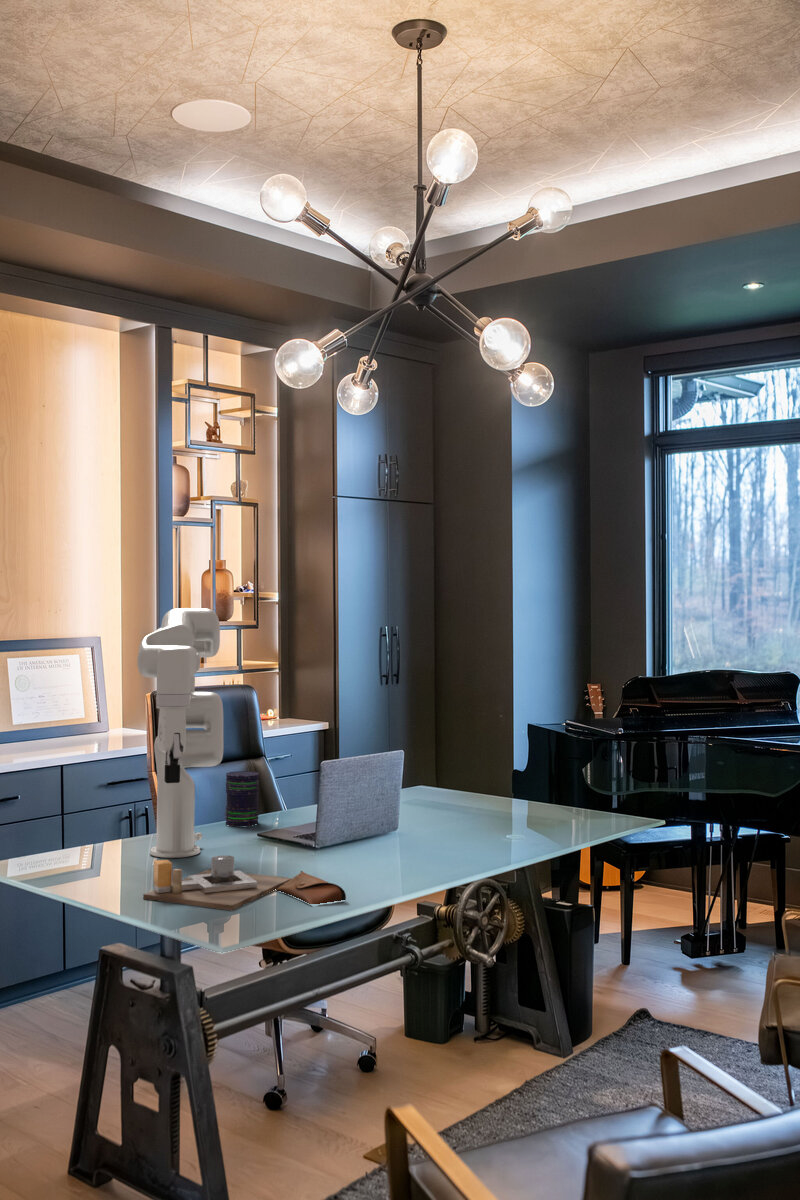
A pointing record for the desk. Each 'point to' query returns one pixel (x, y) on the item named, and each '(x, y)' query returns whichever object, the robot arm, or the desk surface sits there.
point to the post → (222, 869)
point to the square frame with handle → (197, 880)
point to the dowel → (176, 881)
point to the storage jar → (242, 798)
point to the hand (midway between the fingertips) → (172, 782)
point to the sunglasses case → (312, 889)
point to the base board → (221, 893)
